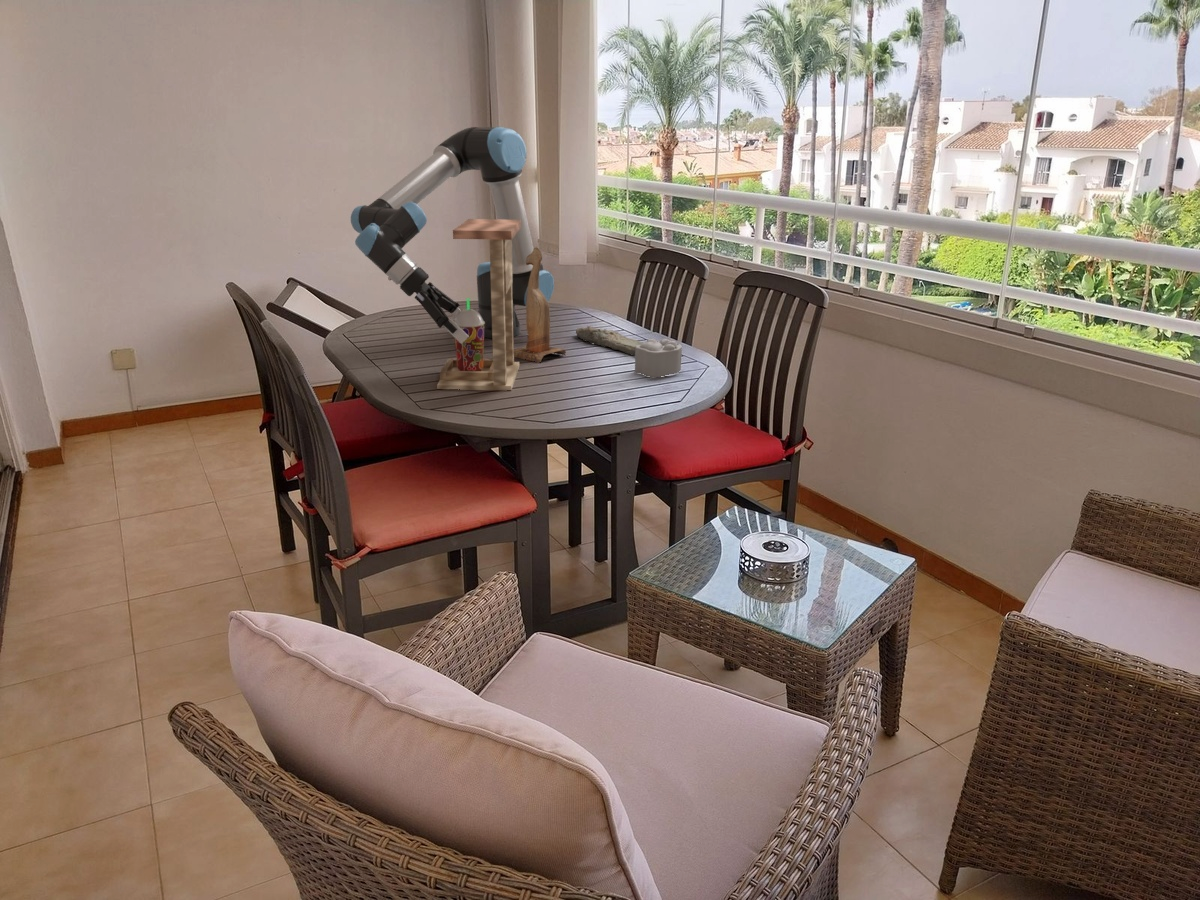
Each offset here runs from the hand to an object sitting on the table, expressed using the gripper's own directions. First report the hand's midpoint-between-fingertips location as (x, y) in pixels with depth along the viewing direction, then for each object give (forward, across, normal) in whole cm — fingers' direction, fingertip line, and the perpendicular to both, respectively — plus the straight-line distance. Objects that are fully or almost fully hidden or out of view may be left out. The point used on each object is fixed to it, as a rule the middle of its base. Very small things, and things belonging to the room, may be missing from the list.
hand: (468, 334), depth 229 cm
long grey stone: (+37, -37, +19) cm, 56 cm away
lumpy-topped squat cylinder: (+45, -8, +28) cm, 54 cm away
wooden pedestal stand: (+11, 0, -6) cm, 12 cm away
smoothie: (+8, 0, -8) cm, 11 cm away
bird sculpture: (+21, -23, +4) cm, 31 cm away
